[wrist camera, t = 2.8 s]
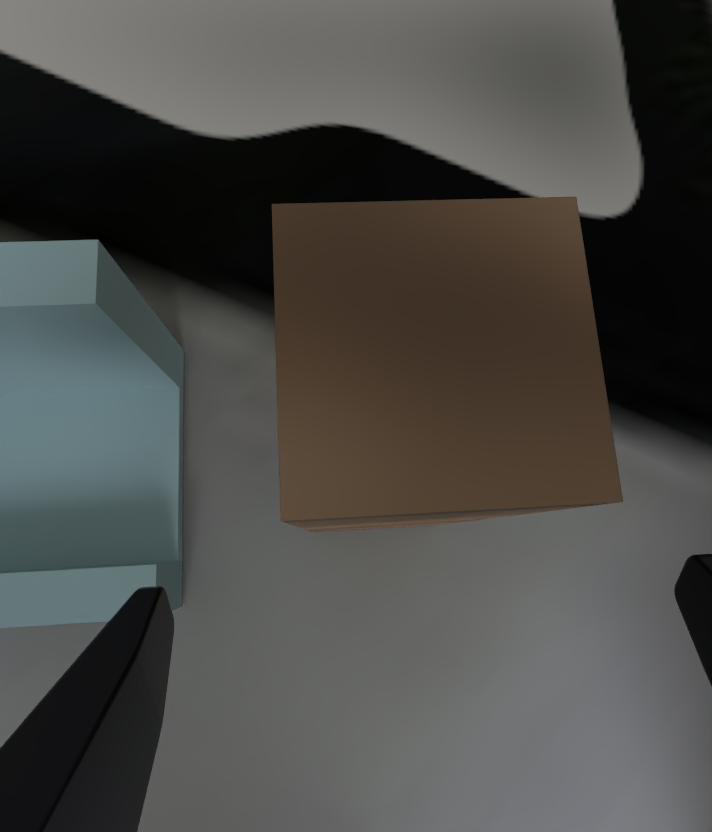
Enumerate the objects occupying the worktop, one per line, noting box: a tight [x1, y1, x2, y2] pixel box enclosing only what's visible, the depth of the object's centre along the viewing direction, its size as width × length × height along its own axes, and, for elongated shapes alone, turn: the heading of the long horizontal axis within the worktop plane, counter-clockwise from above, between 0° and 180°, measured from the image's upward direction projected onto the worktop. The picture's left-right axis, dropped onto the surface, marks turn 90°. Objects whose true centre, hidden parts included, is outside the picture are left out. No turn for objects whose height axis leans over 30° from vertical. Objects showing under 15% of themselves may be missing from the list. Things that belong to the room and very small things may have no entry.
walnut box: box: [272, 197, 623, 532], centre depth 14 cm, size 4×4×13 cm
